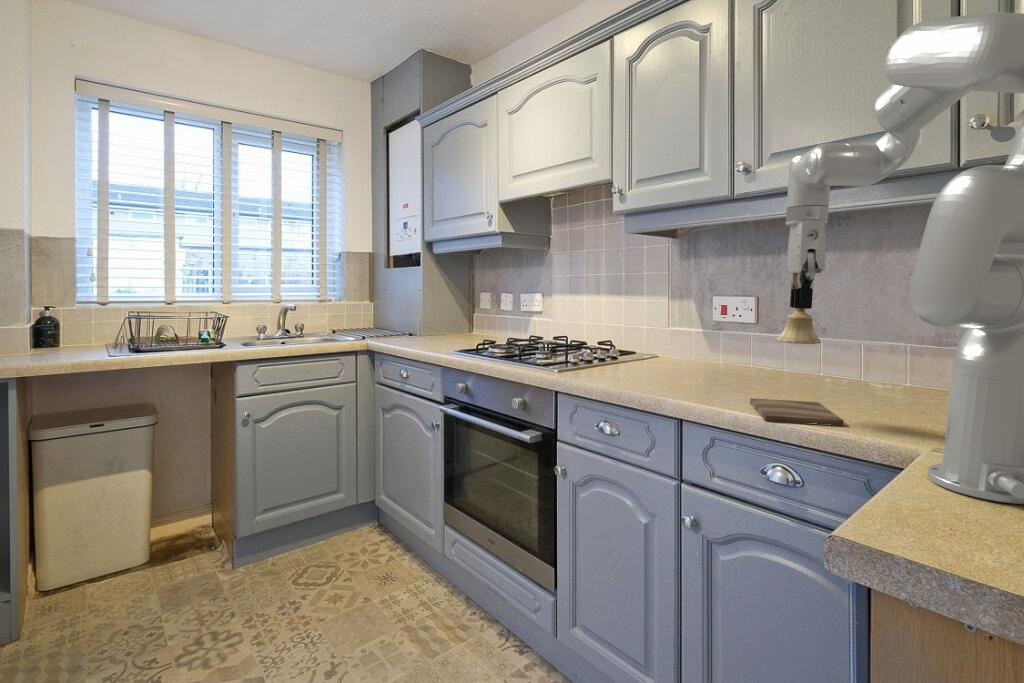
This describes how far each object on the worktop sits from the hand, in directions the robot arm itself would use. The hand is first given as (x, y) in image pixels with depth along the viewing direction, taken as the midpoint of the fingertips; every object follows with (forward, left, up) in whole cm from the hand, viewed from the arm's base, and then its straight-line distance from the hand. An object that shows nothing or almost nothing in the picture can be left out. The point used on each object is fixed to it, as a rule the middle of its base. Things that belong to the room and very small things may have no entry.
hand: (800, 307), depth 113 cm
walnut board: (0, 0, -23) cm, 23 cm away
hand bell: (0, 0, -7) cm, 7 cm away
